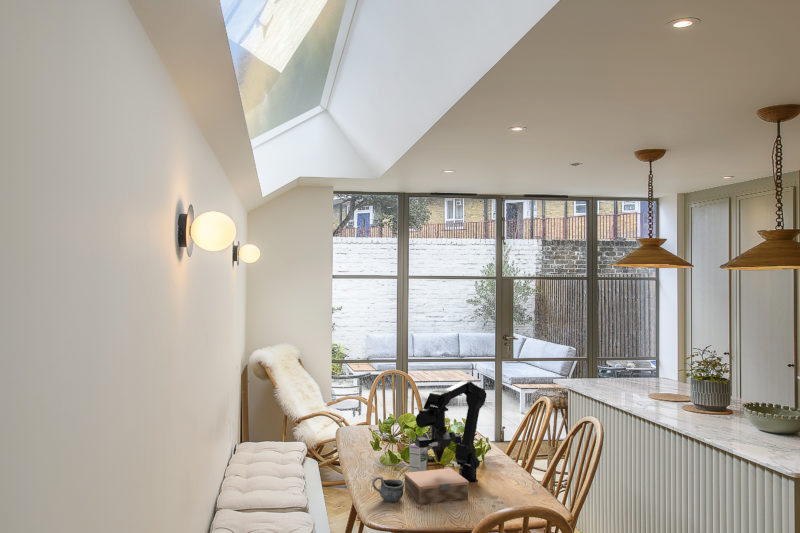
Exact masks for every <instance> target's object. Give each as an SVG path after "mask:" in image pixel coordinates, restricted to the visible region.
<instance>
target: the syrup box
mask: <svg viewBox="0 0 800 533" xmlns="http://www.w3.org/2000/svg"><path fill="white" fill-rule="evenodd" d="M408 449H409V472H417V471H428V470H429V469H428V467H429V466H428V447H425V448H419V447H418V446H416V445H415V442H414V443H411V444H409V448H408Z"/></svg>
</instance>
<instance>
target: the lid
mask: <svg viewBox="0 0 800 533" xmlns="http://www.w3.org/2000/svg"><path fill="white" fill-rule="evenodd" d="M405 476H406V477H407V478H408V479H409V480H410V481H411V482H412V483H413V484H414V485H415V486H416V487H417V488H419V489H430V488H439V487H440V490H446V489H450V486H457V485H466V484H468V485H470V482H469V481H468V480H466V479H465V478H463V477H462V476H461V475H459V472H457V471H456V470H454V469H453V468H451V467H449V468H439V469H428V471H417V472H410V471H408V472H404V477H405Z"/></svg>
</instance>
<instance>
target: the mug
mask: <svg viewBox="0 0 800 533" xmlns="http://www.w3.org/2000/svg"><path fill="white" fill-rule="evenodd" d="M377 480H380V487H379V488H377V486H376V485H375V483H376V481H377ZM371 483H372V484H371V485H372V487H373V489H374V490H375V491H377V492H378V493H379V495H380V498H382V499H383V500H384V501H385V502H388V503H396V502H398V501H400V500H401V499H402V498H403V495H404V487H405V481H403V480H401V479H395V478H390V479H384V478H383V476H382V475H376V476H375V477H373V478H372V482H371Z"/></svg>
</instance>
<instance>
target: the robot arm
mask: <svg viewBox="0 0 800 533" xmlns="http://www.w3.org/2000/svg"><path fill="white" fill-rule="evenodd" d="M463 394H464V395H465V396H466V397H465V402H466V405H467V410H466V411H467V412H466V417H465V423H464V429H463V432H462V433H463V434H462V436H461V435H459V434H458V433H455V432H454V431H449V432H448V430H447V428H448V427H447V426H446V412H448V411H449V408H448V407H447V405H449V404H450V402H451V400H452V399H455V398H456V397H458V396H460V395H463ZM486 399H487V392H486V390H485V389H484V388H482V387H480V386H478V385H476V384H474V383H473V382H472V381H471V380H460V381H459V382H458V383H455V384H454V385H451V386H449V387H447V388H445V389H443V390H441V389H440V390H439V389H438V390H433V391H431V392H429V394H428V397H427V398H426V401H425V404H424V406H423V408H422V409H420V410H419V411H418V412H419V413H418V414H417V415H416V417H415V423H416V425H417V426H418V427H419V428H420V429H423V428H426V427H430V435H429V438H426V437H425V436H421V437H415V439H414V443H415V445H416V446H418V447H419V448H425V447H427V448H428V447H430V448H431V450H432V451H433V454H434V457H435V460H436V461H437V463H441V461H442V458H443V454H444V452H445V451H446V449H447V448H448V447H450V446H451V444H452V442H453V444H455V445H456V446H455V451H454V457H455V461H456V465H458V466H459V469H458V474H459V475H461V476H462V477H463V478H465V479H466V480H468V481H469V483H474V482H475V483H476V482H479V479H478V478H477V469H478V468H479V467H480V464H481V461H480V460H479V458H478V457H477V451H476V447H475V443H474V442H475V439H476V438H475V437H476V431H477V425H478V420H479V414H480V410H481V409H482V407H483V406H484V405H485V402H486Z"/></svg>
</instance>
